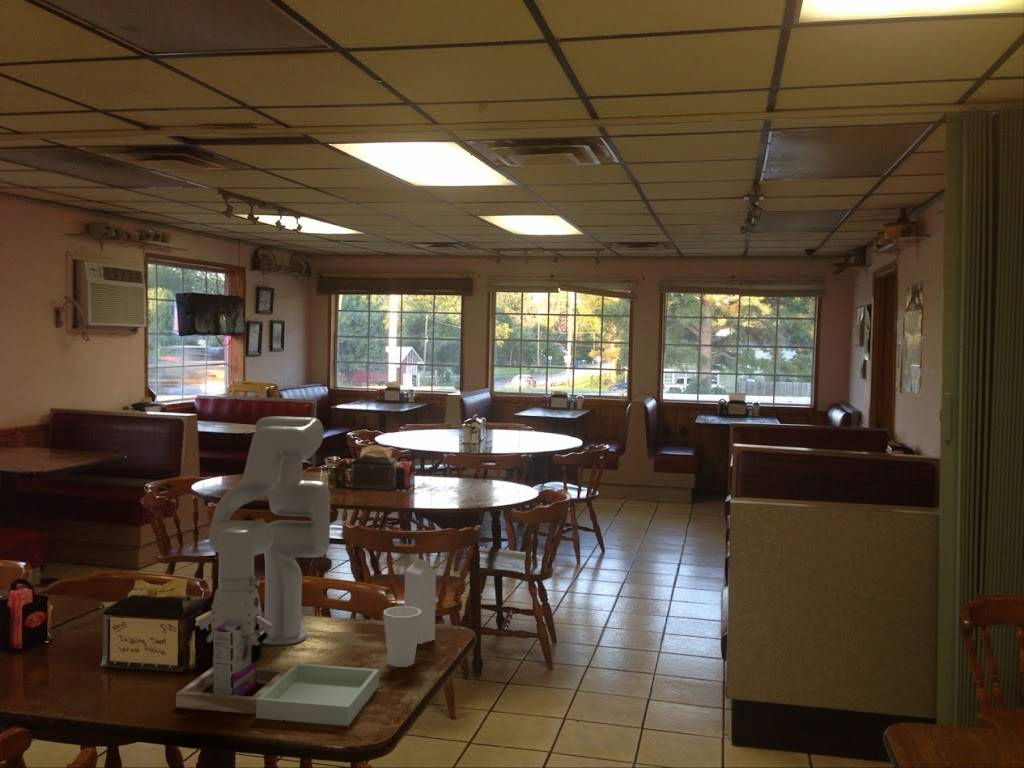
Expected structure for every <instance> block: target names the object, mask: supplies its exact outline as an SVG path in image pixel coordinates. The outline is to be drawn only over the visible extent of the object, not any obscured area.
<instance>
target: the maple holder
mask: <svg viewBox="0 0 1024 768" xmlns="http://www.w3.org/2000/svg"><path fill="white" fill-rule="evenodd" d="M289 670H290V669H280V668H279V669H275V668H268V667H267V668H265V667H256V684H263V685H264V684H265V685H264V686H262V687H261V689H259V690H258V691H257V692H255V694H254V695H252V696H249V695H248V696H246V695H244V696H237V695H225V694H213V693H211V692H205V691H206V690H208V689H209V688H211V686H213V685H212V684H213V666H212V667H210V668H209V669H208V670H206V671H205V672H203V673H202V674H201V675H200V676H198V677H197V678H195V679H194V680H193V681H192V682H190V683H188V684H187V685H186V686H184V687H183V688H182V689H181V690H179V691H177V692H176V693H175V707H176V708H181V709H193V710H205V711H216V712H228V713H229V712H231V713H238V714H239V713H241V714H251V715H256V699H257V698H258V697H260V696H261V695H262V694H263V693H264V692H265V691H266V690H267V689H269V688H270V687H271V686H272V685H273V684H274V683H275V682H276V681H277V680H279V679H280V678H281V677H282V676H283V675H284V674H285V673H286V672H287V671H289ZM207 688H208V689H207Z"/></svg>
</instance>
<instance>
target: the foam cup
mask: <svg viewBox="0 0 1024 768" xmlns="http://www.w3.org/2000/svg"><path fill="white" fill-rule="evenodd" d="M382 614H383V616H382V617H383V618H382V619H383V625H384V633H385V644H386V652H387V662H388V665H389V664H390V665H392V666H395V667H406V666H407V667H406V668H409V667H408V666H410V665H412V664H414V665H415V659H416V652H417V646H418V645H417V641H418V634H419V627H420V623H421V610H420V609H418V608H414V607H407V606H404V605H401V606H393V607H392V606H391V607H388V608H386V609H384V610H383V613H382ZM390 665H389V666H390ZM392 666H391V667H392ZM412 666H413V665H412ZM395 667H394V668H395ZM410 667H411V666H410Z"/></svg>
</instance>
